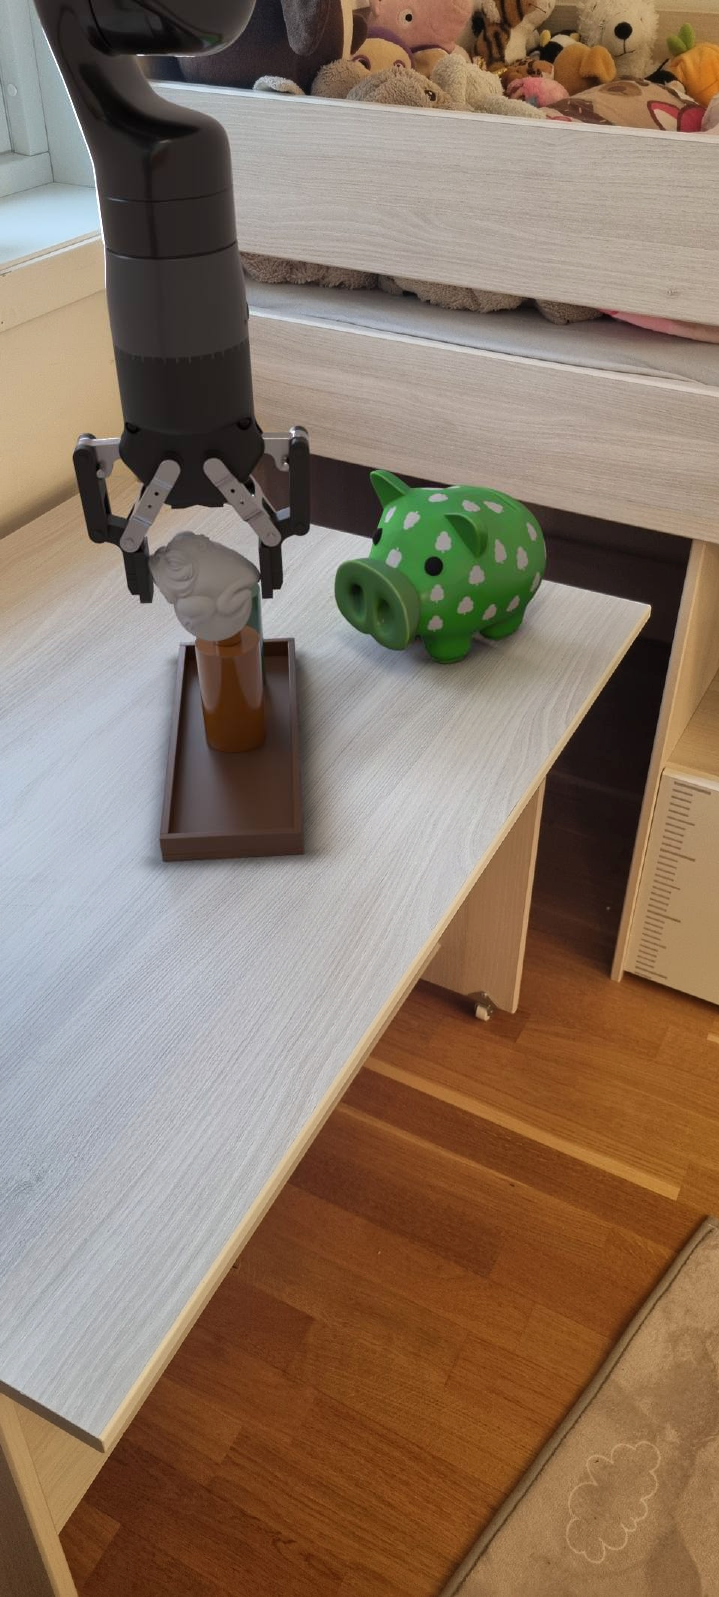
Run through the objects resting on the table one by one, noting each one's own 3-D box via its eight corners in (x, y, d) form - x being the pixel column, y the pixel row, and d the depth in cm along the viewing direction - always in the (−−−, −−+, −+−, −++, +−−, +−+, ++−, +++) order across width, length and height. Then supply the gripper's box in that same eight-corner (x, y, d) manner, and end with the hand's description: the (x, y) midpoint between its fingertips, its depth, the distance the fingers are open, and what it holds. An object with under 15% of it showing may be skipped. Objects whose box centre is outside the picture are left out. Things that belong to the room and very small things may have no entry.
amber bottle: (235, 760, 95) (222, 628, 87) (192, 736, 97) (176, 606, 90) (279, 732, 98) (270, 602, 90) (236, 710, 100) (225, 582, 93)
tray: (303, 854, 87) (302, 832, 85) (162, 861, 86) (159, 839, 85) (295, 657, 108) (294, 637, 107) (182, 662, 108) (179, 642, 106)
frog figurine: (165, 612, 80) (152, 515, 76) (269, 611, 80) (262, 514, 76) (151, 660, 76) (137, 560, 71) (261, 659, 75) (254, 559, 71)
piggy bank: (321, 637, 111) (315, 483, 101) (465, 577, 119) (472, 431, 110) (422, 703, 102) (426, 541, 93) (570, 633, 111) (587, 479, 101)
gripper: (38, 356, 63) (87, 630, 73) (312, 346, 63) (322, 620, 74) (58, 312, 69) (101, 572, 79) (308, 304, 69) (318, 563, 79)
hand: (208, 594), depth 76 cm, fingers closed on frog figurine, 7 cm apart
